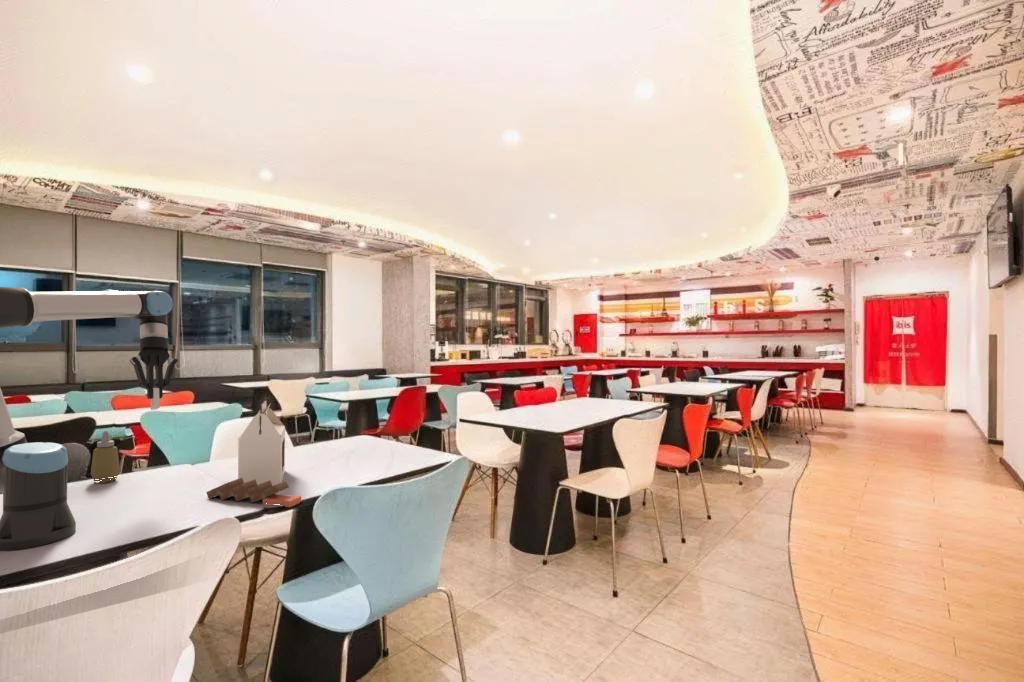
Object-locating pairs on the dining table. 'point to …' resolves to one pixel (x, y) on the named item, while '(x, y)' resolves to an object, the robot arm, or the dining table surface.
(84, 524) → the dining table surface
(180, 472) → the dining table surface
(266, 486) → the domino
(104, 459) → the squeeze bottle
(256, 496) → the domino
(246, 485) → the domino
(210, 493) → the domino
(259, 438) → the gable box
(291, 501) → the domino
